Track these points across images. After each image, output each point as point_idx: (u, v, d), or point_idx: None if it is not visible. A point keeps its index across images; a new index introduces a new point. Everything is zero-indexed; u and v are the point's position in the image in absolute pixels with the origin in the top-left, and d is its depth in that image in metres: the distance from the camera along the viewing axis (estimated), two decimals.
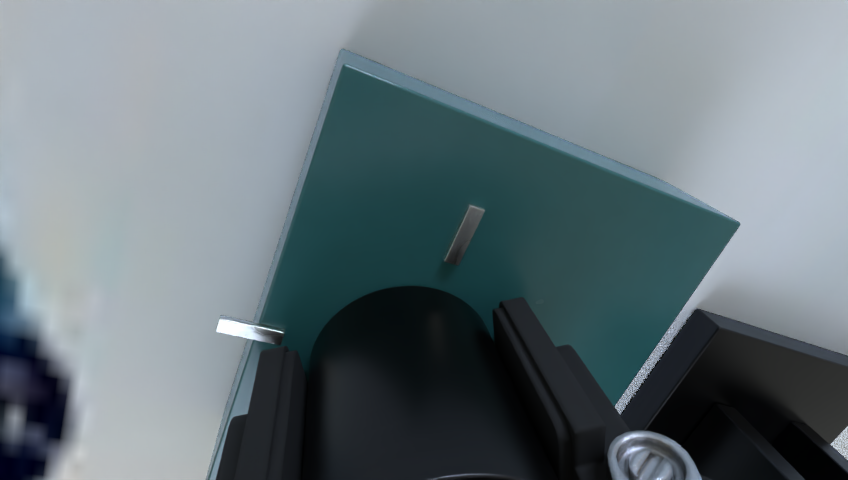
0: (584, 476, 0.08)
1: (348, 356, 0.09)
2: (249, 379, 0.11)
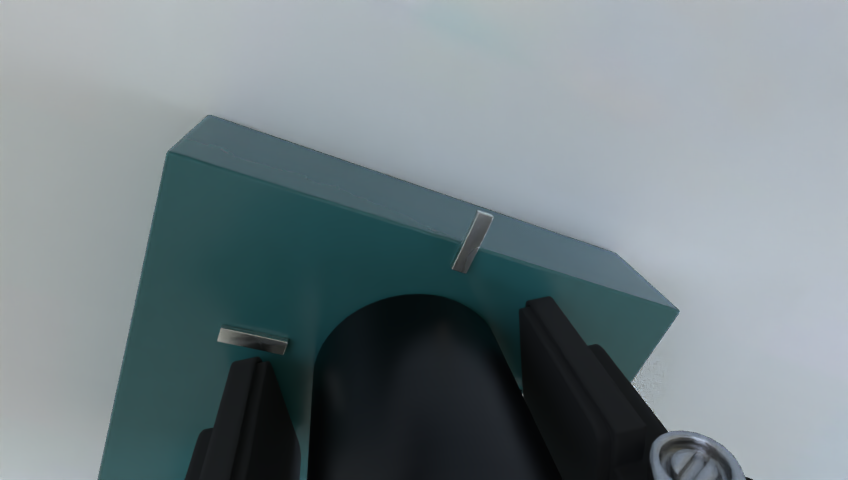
0: (624, 477, 0.08)
1: (353, 369, 0.09)
2: (403, 234, 0.10)
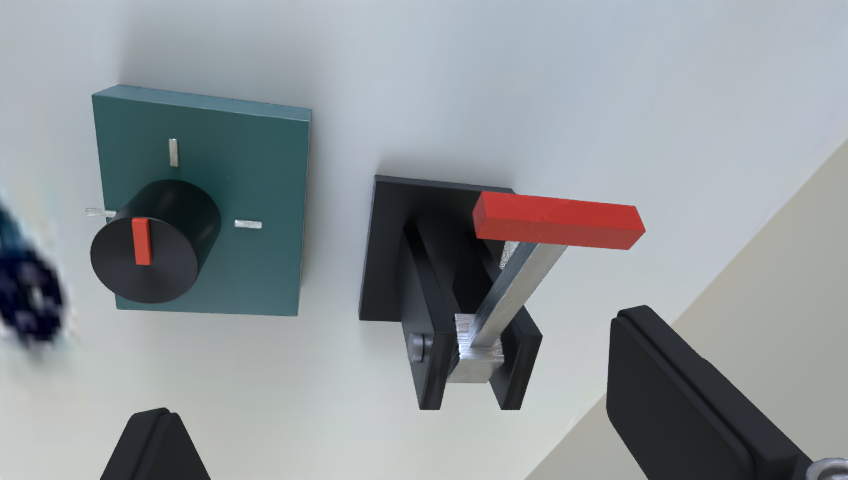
0: None
1: None
2: None
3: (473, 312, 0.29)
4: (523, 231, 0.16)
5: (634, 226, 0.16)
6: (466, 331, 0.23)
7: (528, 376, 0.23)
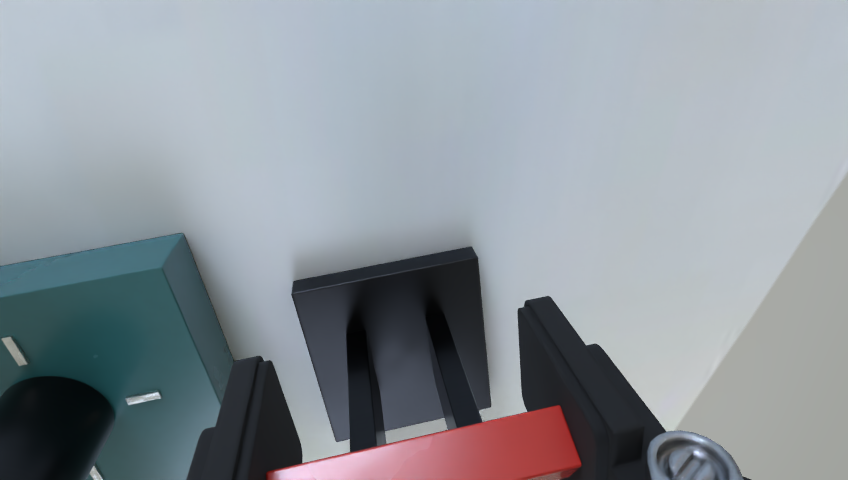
0: (622, 477, 0.08)
1: None
2: None
3: None
4: None
5: (558, 460, 0.09)
6: None
7: None
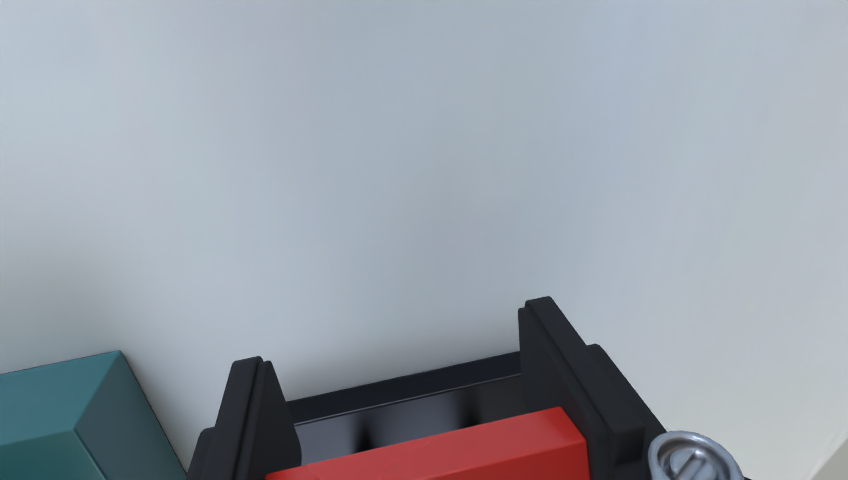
0: (622, 477, 0.08)
1: None
2: None
3: None
4: None
5: (561, 439, 0.08)
6: None
7: None
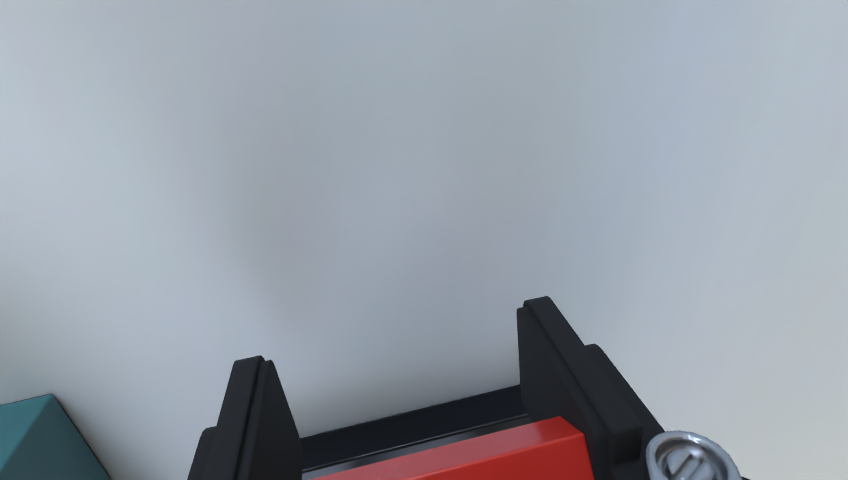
0: (620, 477, 0.08)
1: None
2: None
3: None
4: None
5: (559, 436, 0.08)
6: None
7: None
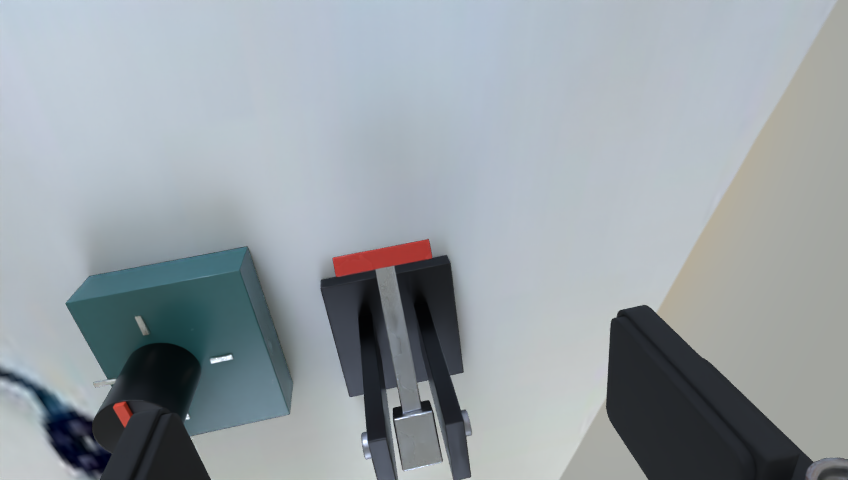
0: None
1: None
2: None
3: (430, 383, 0.32)
4: (358, 262, 0.27)
5: (422, 240, 0.28)
6: (401, 410, 0.28)
7: (466, 451, 0.26)
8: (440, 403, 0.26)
